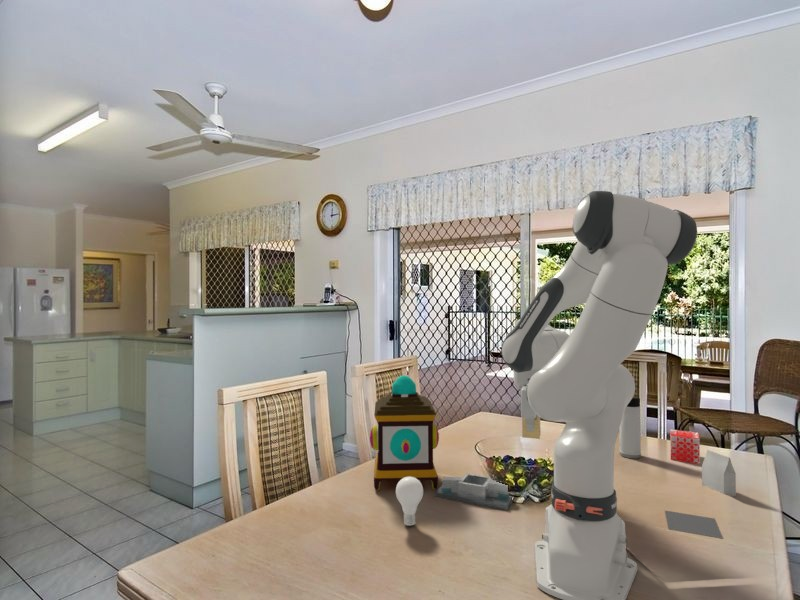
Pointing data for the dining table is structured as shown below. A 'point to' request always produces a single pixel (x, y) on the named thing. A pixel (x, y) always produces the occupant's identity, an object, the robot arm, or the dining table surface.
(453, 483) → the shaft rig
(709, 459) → the white house block
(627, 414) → the travel mug
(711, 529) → the rubber mat
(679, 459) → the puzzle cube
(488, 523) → the dining table surface
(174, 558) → the dining table surface
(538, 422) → the block
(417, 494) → the lightbulb
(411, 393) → the decorative lantern
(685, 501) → the dining table surface
